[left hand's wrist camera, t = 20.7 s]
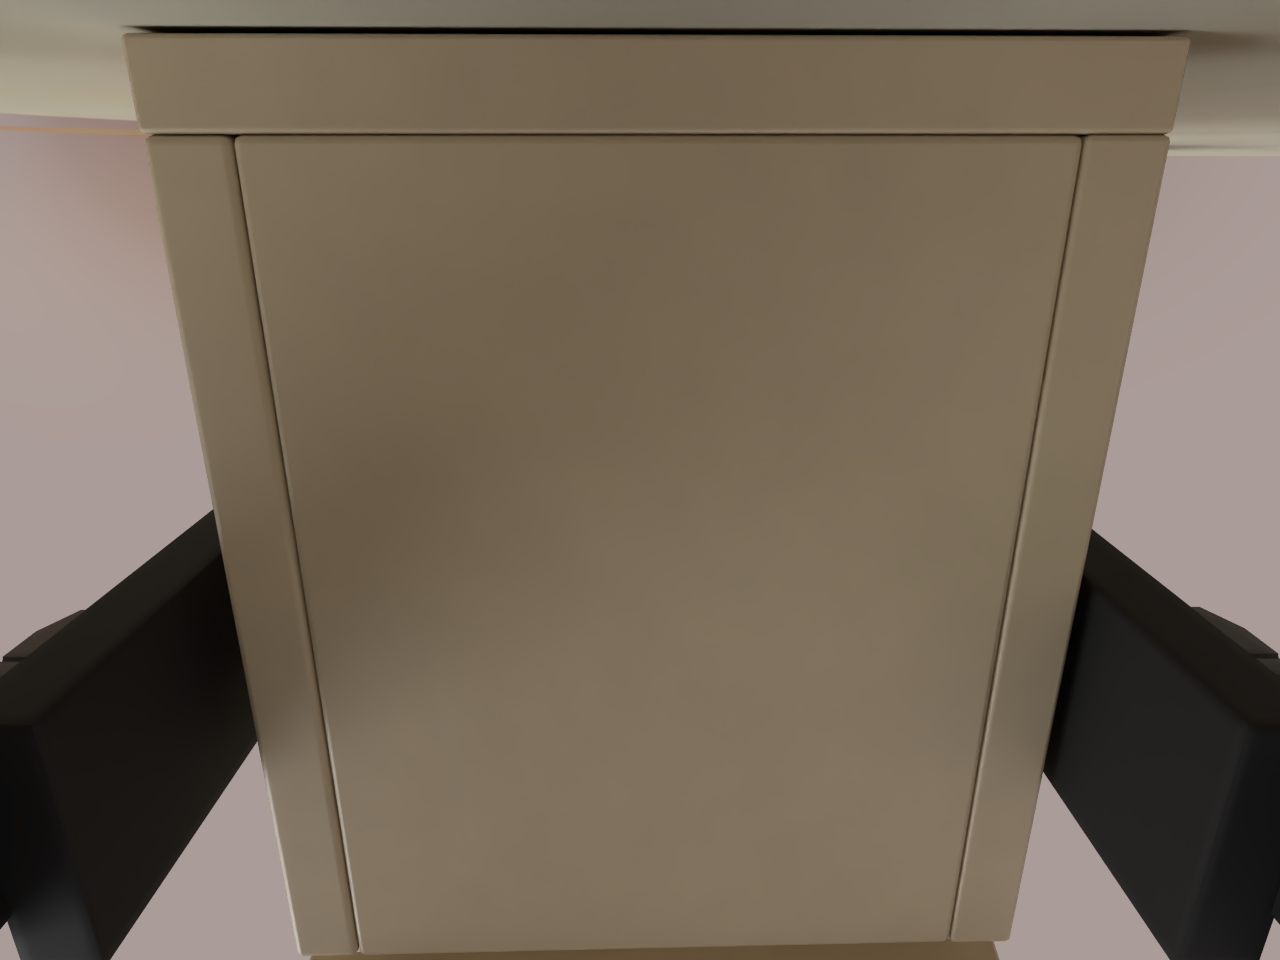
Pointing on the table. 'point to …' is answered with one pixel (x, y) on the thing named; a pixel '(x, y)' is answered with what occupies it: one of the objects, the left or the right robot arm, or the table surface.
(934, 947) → the lid
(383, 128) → the chest
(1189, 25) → the table surface
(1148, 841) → the left robot arm
